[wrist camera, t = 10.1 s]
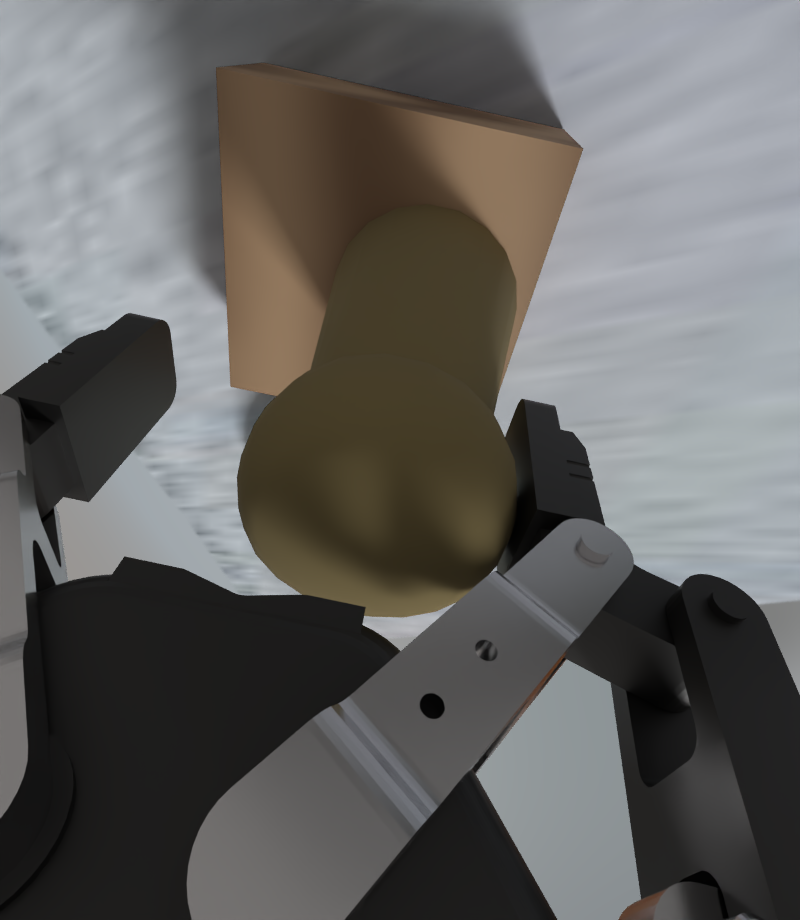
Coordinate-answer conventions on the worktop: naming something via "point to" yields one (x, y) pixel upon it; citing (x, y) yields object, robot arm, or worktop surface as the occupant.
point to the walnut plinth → (359, 197)
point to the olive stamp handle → (393, 425)
